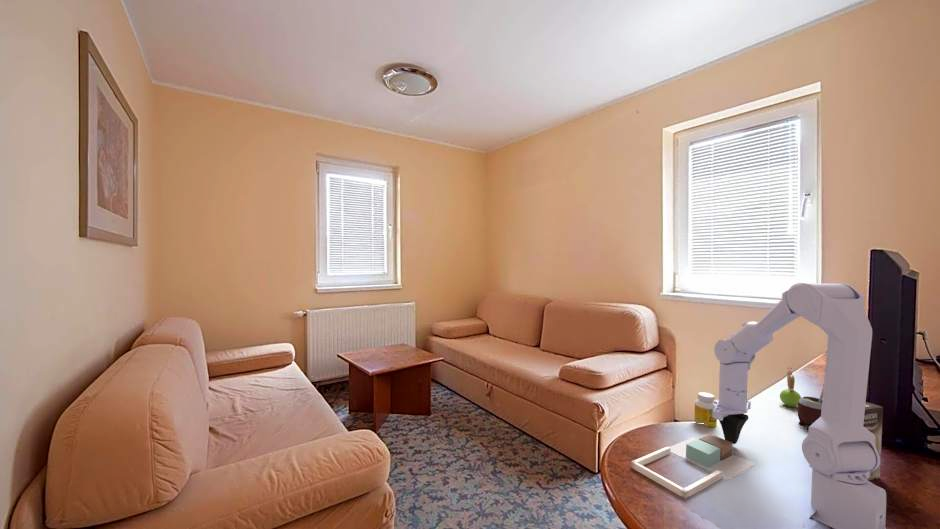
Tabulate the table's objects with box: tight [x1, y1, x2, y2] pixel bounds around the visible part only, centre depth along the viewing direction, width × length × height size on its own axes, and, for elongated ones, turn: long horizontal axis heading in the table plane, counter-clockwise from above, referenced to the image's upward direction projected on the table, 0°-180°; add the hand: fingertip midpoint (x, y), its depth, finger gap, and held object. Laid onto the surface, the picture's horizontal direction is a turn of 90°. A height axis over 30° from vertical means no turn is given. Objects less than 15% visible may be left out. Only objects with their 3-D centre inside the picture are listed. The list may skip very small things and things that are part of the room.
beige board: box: [669, 436, 756, 480], centre depth 87 cm, size 14×12×2 cm
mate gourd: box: [797, 383, 824, 428], centre depth 106 cm, size 8×8×15 cm
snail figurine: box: [779, 366, 802, 408], centre depth 122 cm, size 5×6×12 cm
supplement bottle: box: [693, 391, 718, 428], centre depth 105 cm, size 5×5×10 cm
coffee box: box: [863, 401, 884, 481], centre depth 84 cm, size 9×6×16 cm
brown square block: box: [698, 433, 734, 461], centre depth 89 cm, size 5×5×3 cm
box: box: [630, 446, 723, 500], centre depth 80 cm, size 12×14×3 cm
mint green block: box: [686, 438, 721, 468], centre depth 86 cm, size 5×5×3 cm
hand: (730, 441), depth 92 cm, fingers closed
